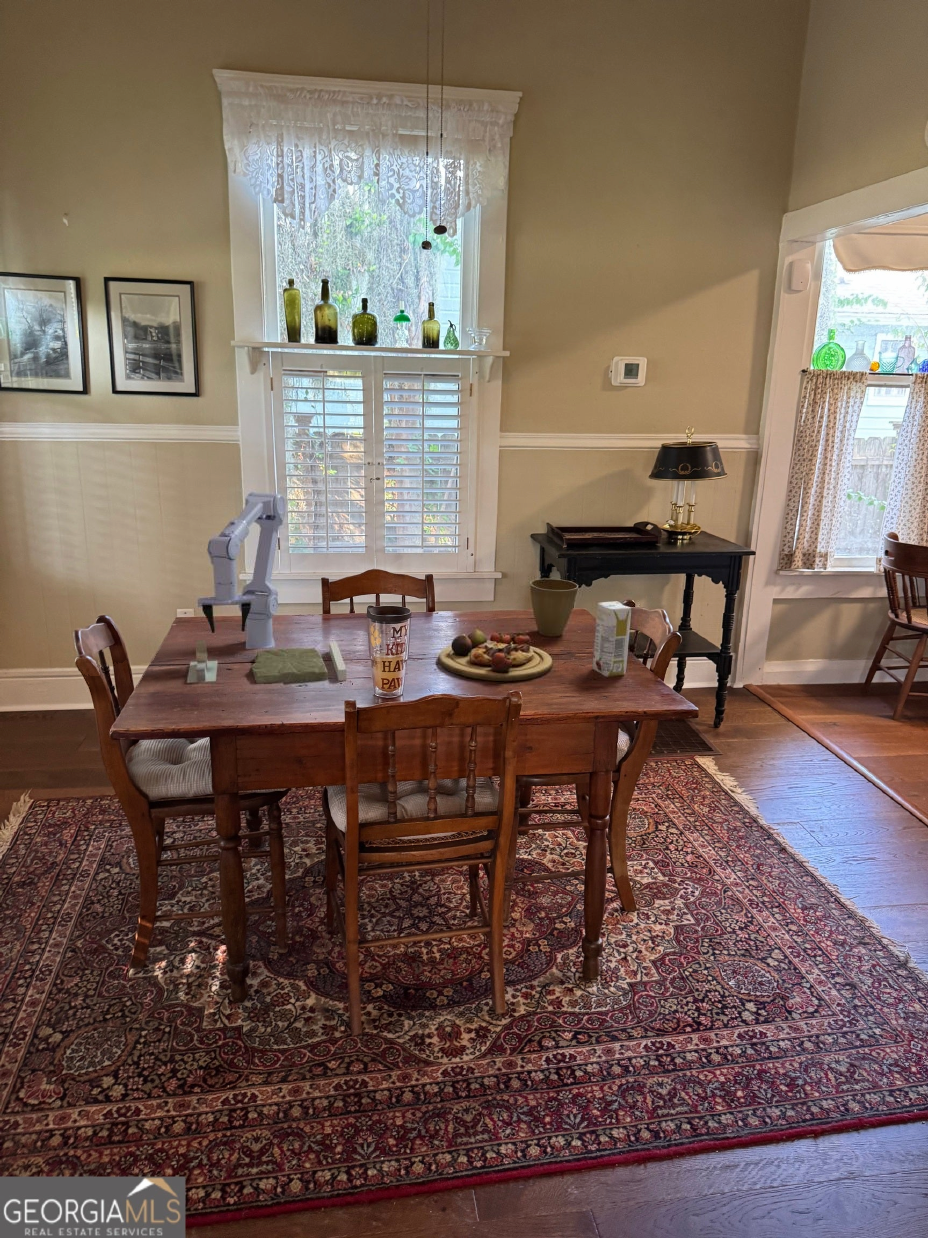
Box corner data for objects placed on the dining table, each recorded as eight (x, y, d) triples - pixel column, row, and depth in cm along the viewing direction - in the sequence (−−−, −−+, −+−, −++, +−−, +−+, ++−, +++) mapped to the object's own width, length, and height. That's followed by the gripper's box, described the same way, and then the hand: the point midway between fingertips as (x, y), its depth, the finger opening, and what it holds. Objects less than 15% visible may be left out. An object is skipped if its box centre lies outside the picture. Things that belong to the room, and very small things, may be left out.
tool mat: (190, 663, 219) (190, 662, 219) (217, 662, 221) (217, 660, 220) (186, 684, 204) (186, 682, 204) (215, 682, 206) (215, 680, 206)
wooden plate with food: (546, 689, 209) (548, 658, 207) (426, 676, 215) (427, 646, 213) (557, 653, 240) (559, 626, 238) (451, 643, 245) (453, 616, 243)
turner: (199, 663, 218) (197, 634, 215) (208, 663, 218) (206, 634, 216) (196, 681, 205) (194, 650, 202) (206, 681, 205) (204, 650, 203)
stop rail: (329, 651, 232) (329, 641, 231) (336, 651, 232) (336, 641, 232) (338, 680, 210) (338, 669, 209) (346, 680, 210) (346, 669, 209)
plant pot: (522, 637, 251) (525, 586, 247) (533, 624, 265) (535, 576, 261) (570, 642, 247) (573, 591, 243) (578, 629, 261) (581, 581, 256)
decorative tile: (317, 657, 229) (317, 645, 228) (328, 681, 210) (327, 668, 209) (249, 662, 223) (248, 650, 222) (254, 687, 205) (253, 674, 204)
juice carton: (605, 678, 217) (610, 610, 212) (588, 668, 225) (593, 601, 220) (629, 675, 220) (635, 607, 215) (612, 665, 228) (617, 600, 222)
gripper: (195, 586, 208) (199, 637, 212) (254, 584, 211) (256, 634, 215) (197, 579, 214) (200, 629, 218) (253, 578, 218) (256, 626, 222)
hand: (228, 631), depth 217 cm, fingers open, 7 cm apart
